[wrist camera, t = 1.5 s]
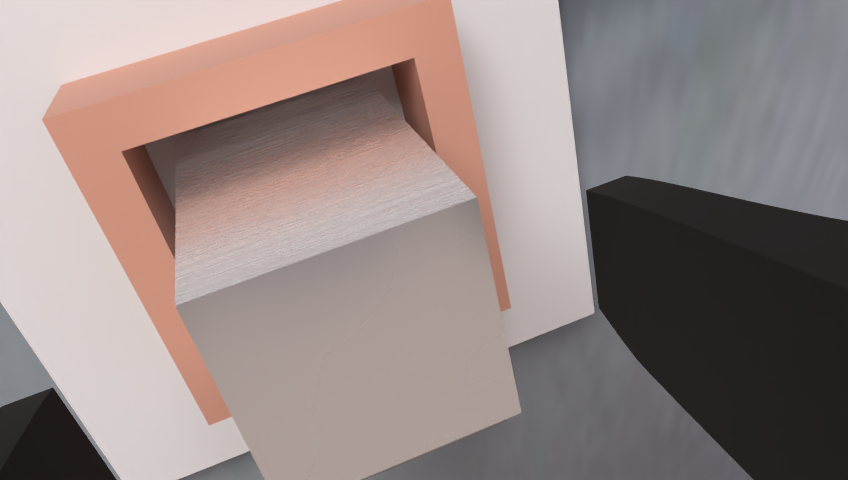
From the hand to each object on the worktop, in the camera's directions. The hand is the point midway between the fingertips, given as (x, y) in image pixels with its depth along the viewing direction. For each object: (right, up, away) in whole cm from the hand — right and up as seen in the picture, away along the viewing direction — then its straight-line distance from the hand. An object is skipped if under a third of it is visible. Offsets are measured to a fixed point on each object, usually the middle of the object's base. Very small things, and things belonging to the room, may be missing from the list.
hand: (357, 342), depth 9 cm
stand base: (-2, +3, +5) cm, 7 cm away
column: (-2, +2, +5) cm, 5 cm away
